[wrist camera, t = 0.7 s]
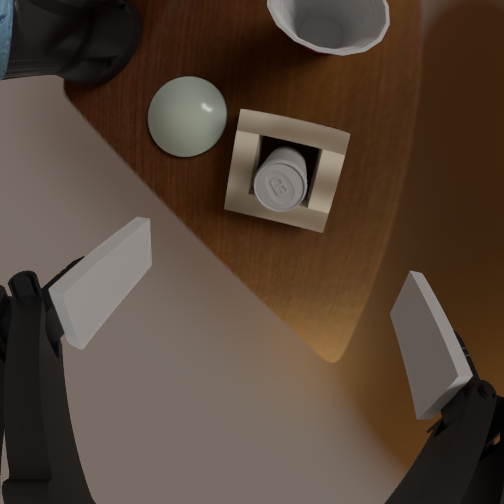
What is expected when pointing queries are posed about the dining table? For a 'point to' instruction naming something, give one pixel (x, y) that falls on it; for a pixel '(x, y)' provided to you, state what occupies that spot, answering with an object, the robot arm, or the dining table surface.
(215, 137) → the pale green cabochon
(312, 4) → the plastic cup
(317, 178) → the birch sleeve
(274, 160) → the beverage can
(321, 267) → the dining table surface
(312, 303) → the dining table surface
